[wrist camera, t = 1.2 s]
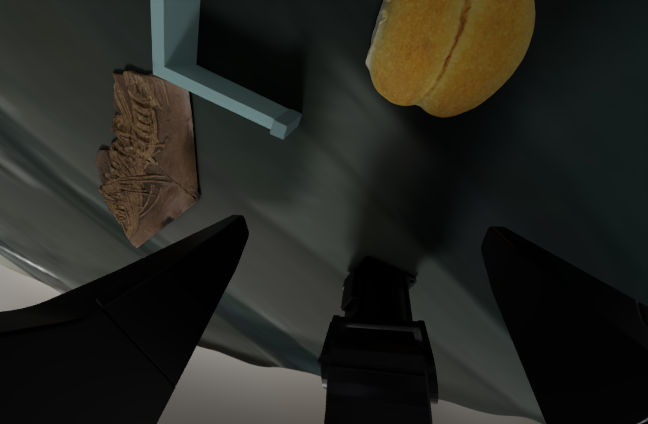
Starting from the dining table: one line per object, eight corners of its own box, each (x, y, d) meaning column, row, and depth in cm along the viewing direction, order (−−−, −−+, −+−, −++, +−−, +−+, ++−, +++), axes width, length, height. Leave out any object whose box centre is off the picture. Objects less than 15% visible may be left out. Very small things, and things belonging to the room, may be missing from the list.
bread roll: (470, 123, 18) (491, 140, 15) (356, 89, 18) (352, 97, 15) (559, -26, 13) (619, -51, 10) (403, -72, 13) (412, -111, 10)
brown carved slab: (126, 29, 19) (113, 28, 18) (244, 126, 21) (238, 129, 20) (90, 215, 32) (82, 220, 31) (165, 260, 35) (159, 265, 34)
